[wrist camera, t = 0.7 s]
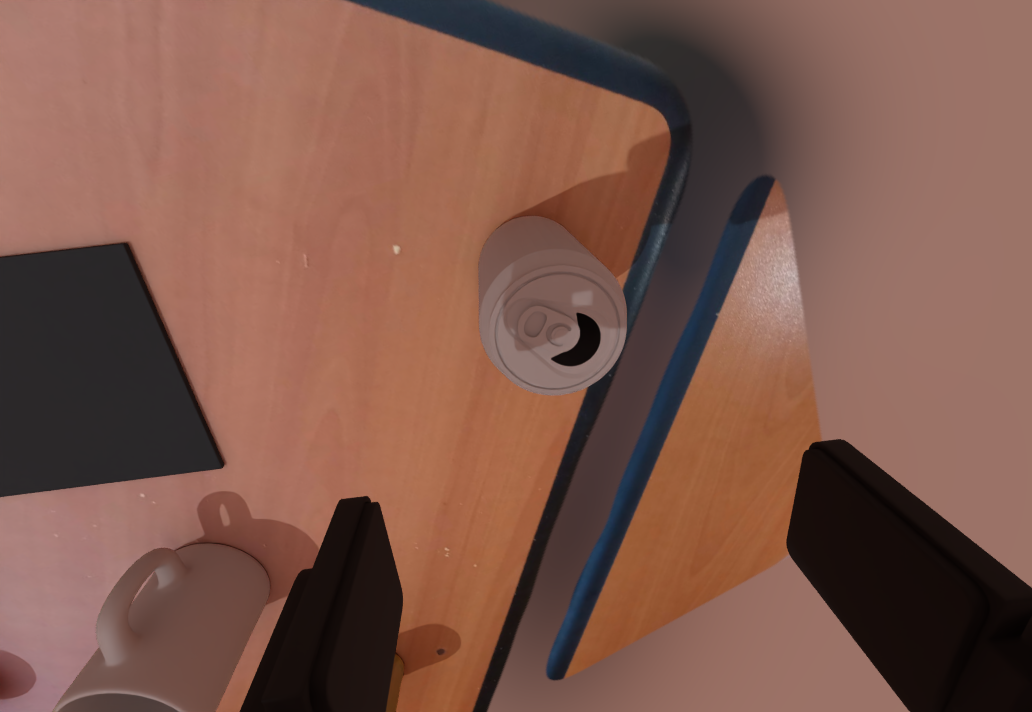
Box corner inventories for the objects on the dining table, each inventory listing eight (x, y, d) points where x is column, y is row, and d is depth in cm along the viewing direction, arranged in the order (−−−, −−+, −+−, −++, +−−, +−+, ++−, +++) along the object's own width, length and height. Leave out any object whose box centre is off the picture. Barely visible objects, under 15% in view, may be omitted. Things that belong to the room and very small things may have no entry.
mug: (283, 611, 40) (220, 764, 30) (181, 622, 40) (83, 781, 30) (241, 501, 36) (149, 640, 26) (124, 513, 35) (-16, 659, 25)
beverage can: (549, 328, 32) (588, 425, 21) (461, 289, 30) (453, 371, 19) (597, 241, 30) (667, 298, 19) (505, 194, 28) (523, 226, 17)
